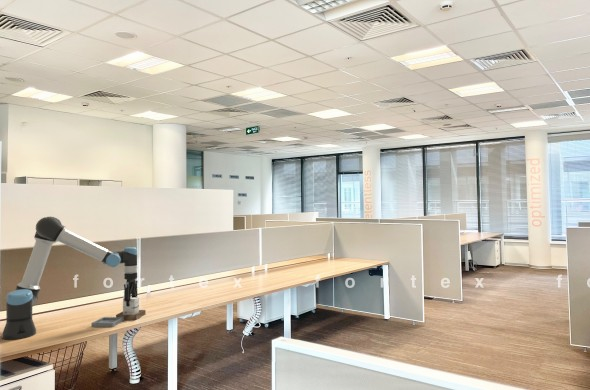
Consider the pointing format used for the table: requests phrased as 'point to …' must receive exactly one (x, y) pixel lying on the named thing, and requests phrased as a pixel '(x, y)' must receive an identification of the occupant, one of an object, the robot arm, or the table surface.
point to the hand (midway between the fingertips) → (131, 310)
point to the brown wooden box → (132, 317)
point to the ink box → (133, 306)
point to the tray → (107, 322)
